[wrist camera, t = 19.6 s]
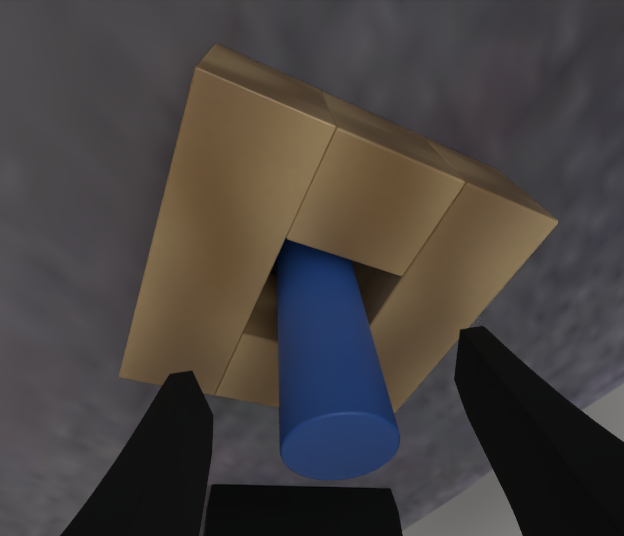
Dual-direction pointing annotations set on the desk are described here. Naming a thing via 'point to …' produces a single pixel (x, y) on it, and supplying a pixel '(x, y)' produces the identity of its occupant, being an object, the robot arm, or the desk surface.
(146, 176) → the desk surface
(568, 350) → the desk surface
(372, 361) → the handle
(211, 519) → the battery charger
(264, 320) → the holder
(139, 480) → the robot arm
